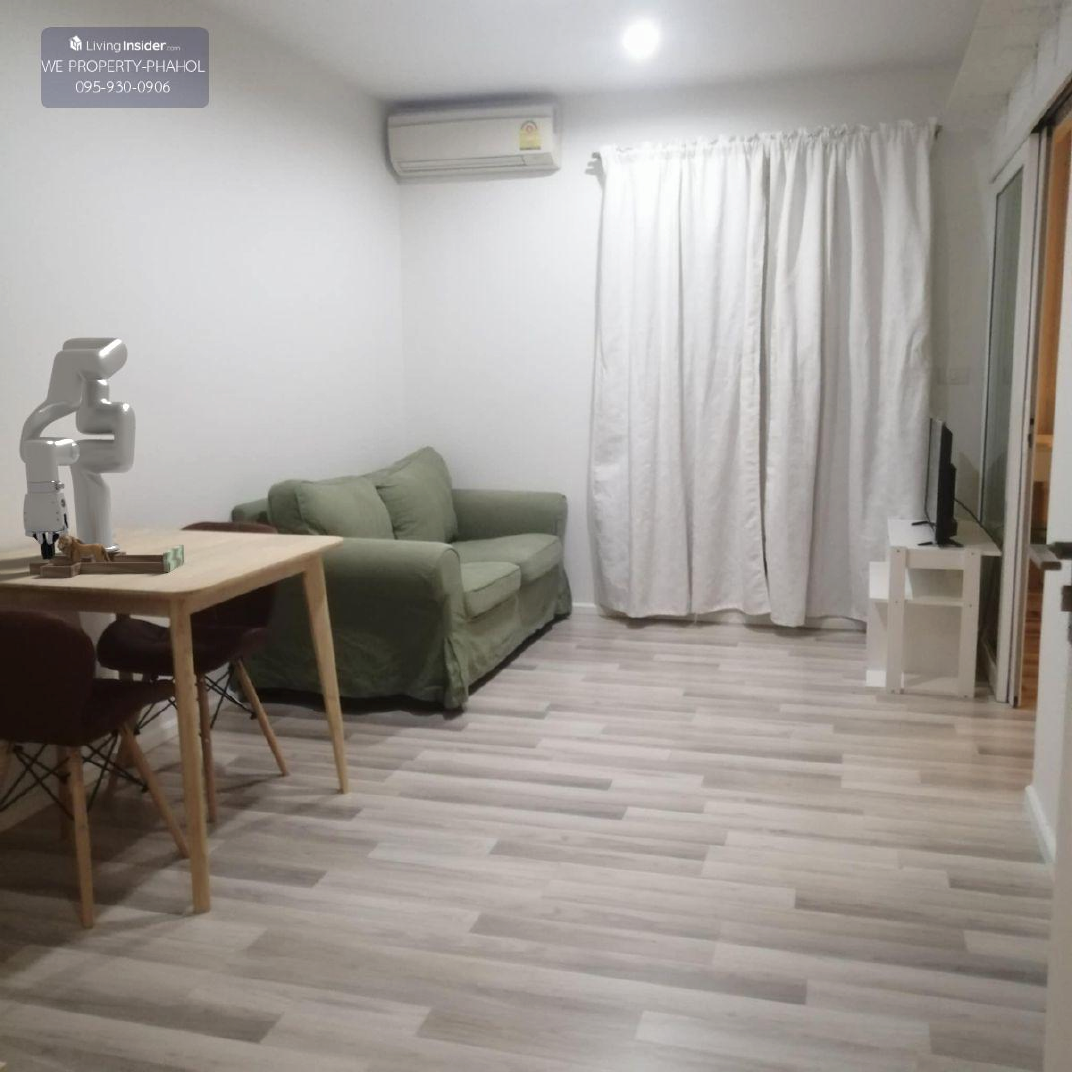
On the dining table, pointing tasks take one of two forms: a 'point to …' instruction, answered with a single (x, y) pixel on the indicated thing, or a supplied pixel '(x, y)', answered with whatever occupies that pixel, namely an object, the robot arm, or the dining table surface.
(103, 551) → the lion figurine
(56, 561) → the wooden walled channel
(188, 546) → the dining table surface
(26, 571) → the dining table surface
